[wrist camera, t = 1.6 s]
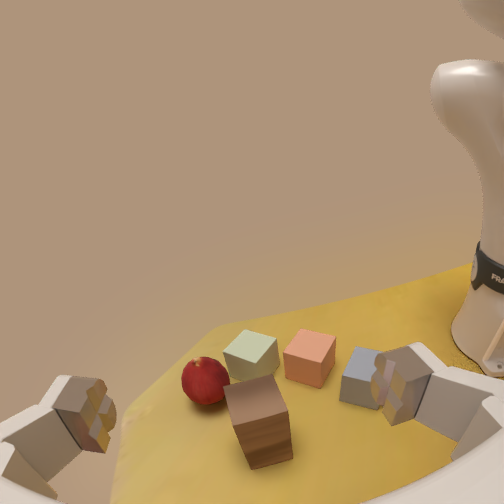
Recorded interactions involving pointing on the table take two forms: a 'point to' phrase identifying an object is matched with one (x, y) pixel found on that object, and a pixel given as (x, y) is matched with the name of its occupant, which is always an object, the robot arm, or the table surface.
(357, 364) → the cube slate
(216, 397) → the pomegranate
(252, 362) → the cube sage
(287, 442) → the block walnut
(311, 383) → the cube terracotta
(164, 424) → the table surface
